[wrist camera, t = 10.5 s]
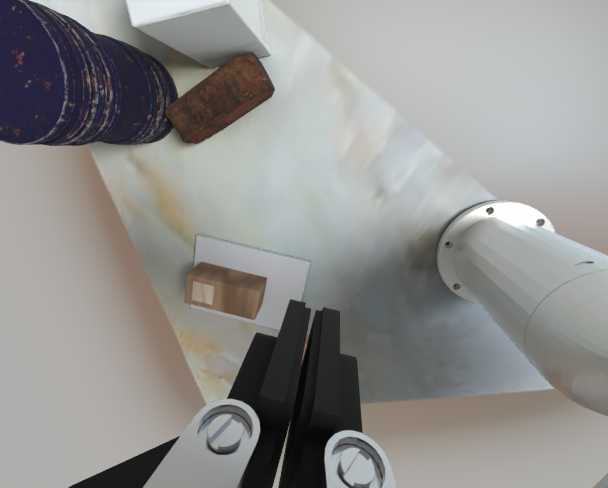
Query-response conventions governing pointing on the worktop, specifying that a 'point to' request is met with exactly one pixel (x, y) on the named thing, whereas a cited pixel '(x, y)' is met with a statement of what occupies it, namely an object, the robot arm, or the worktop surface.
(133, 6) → the supplement box
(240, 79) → the brick
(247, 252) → the mat
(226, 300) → the brown cardboard box
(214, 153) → the worktop surface
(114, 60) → the dark blue ribbed cylinder
